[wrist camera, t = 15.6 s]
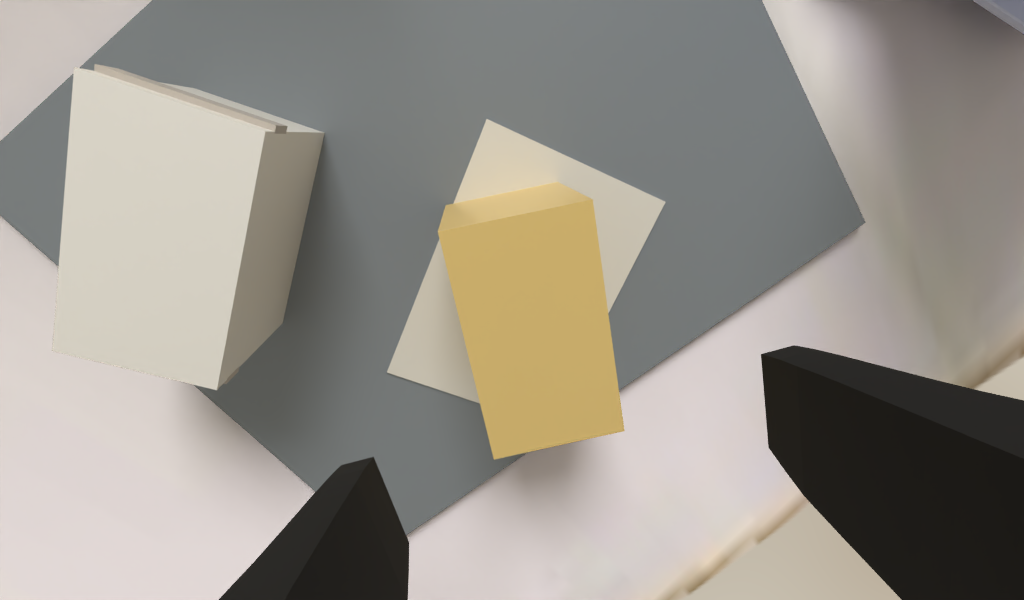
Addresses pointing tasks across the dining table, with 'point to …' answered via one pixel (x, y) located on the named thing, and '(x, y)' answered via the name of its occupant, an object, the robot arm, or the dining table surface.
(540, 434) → the ochre brick
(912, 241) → the dining table surface
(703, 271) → the baseplate
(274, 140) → the cream brick
